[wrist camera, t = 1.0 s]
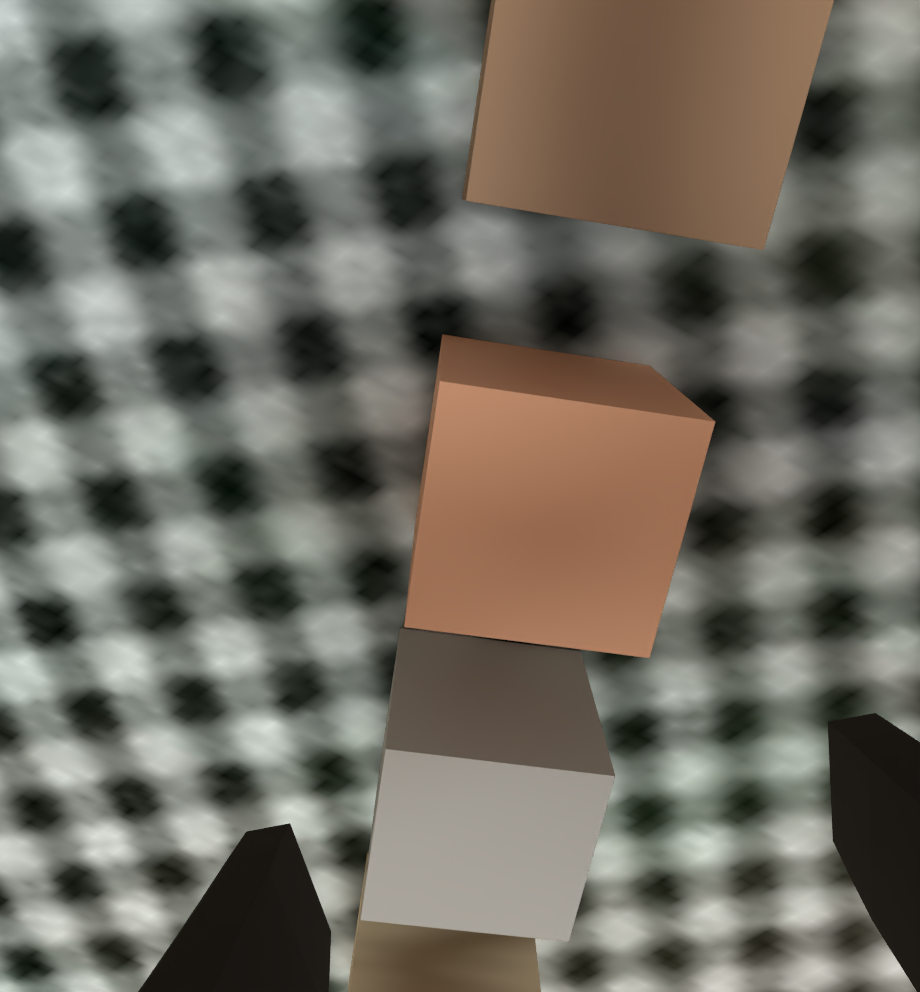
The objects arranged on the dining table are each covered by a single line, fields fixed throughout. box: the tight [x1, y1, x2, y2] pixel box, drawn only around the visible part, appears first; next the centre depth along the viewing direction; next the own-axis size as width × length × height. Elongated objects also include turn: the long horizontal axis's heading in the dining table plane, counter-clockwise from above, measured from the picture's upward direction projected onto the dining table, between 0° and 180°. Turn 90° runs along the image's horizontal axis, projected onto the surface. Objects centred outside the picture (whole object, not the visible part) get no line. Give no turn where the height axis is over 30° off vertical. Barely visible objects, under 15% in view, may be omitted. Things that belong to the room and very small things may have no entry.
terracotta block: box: [404, 334, 715, 658], centre depth 17 cm, size 5×5×5 cm
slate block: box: [360, 628, 615, 942], centre depth 20 cm, size 5×5×5 cm
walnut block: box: [462, 0, 834, 250], centre depth 14 cm, size 5×5×5 cm
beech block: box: [348, 852, 541, 992], centre depth 23 cm, size 5×5×5 cm
